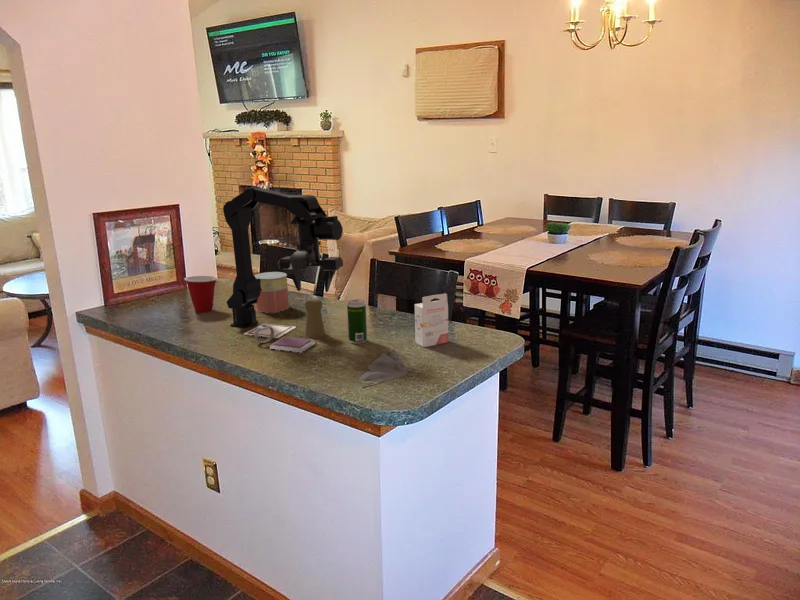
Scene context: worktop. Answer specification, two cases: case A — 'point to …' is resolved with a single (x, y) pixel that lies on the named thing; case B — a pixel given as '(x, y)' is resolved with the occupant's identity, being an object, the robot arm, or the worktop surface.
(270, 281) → the canned food
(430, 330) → the ink cartridge box
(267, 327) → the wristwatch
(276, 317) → the worktop surface
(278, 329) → the marked card
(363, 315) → the green drink can
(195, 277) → the plastic cup
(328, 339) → the worktop surface
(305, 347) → the ink pad
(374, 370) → the cloth
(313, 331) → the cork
